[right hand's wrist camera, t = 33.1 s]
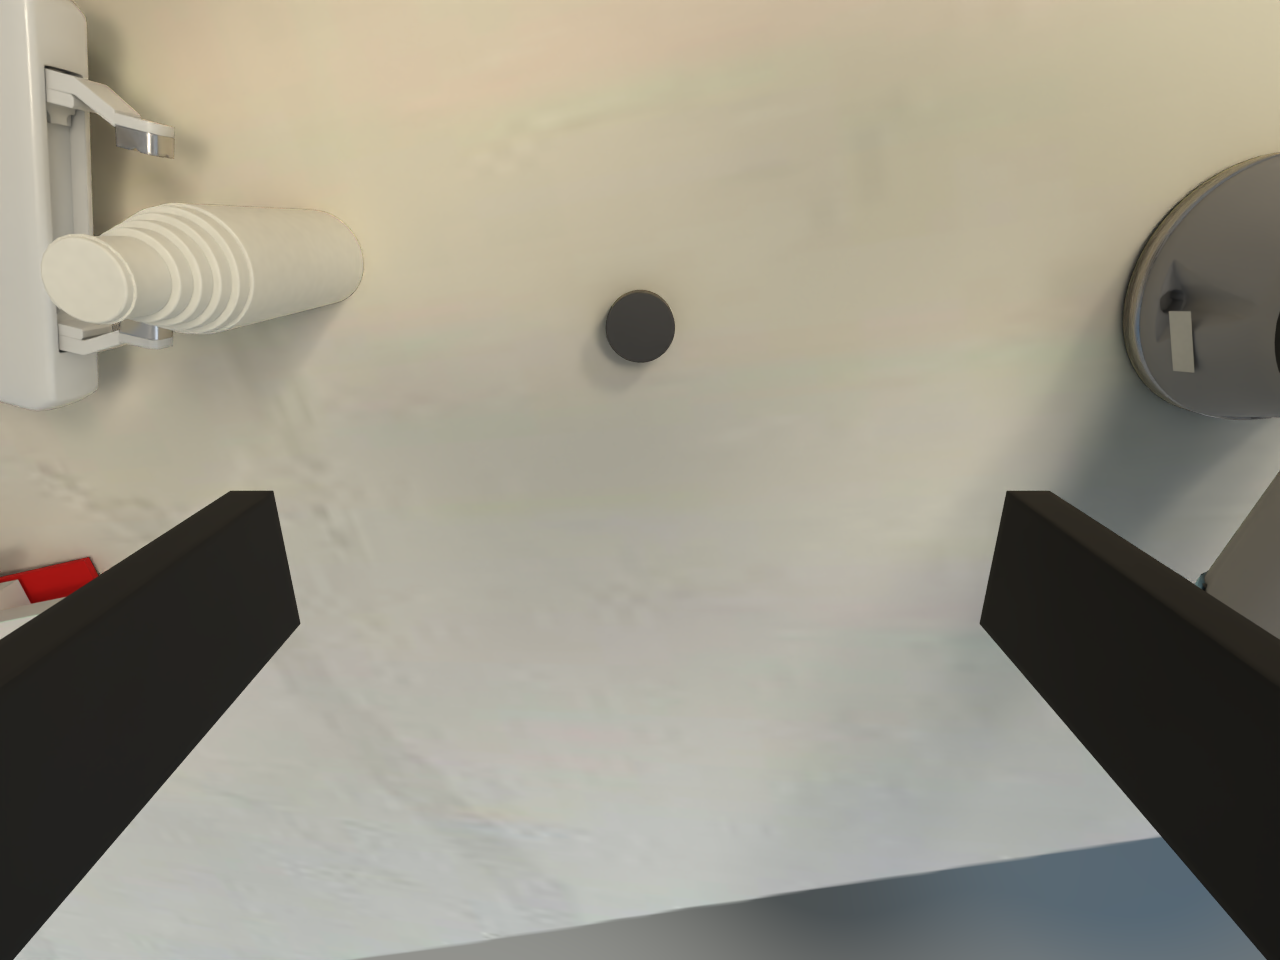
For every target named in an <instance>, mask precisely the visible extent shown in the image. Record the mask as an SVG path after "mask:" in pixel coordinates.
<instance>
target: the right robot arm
mask: <svg viewBox="0 0 1280 960" xmlns="http://www.w3.org/2000/svg"><path fill="white" fill-rule="evenodd" d="M1123 332H1124V340H1125V345H1126V349H1127V352H1128V356H1129V358H1130V361H1131V363H1132V365H1133V367H1134V369H1135V371H1136V373H1137V374H1138V376H1139V377H1140V378H1141V380H1142V381H1143V382H1144V384H1145V385H1146V386H1147V387H1148V388H1149V389H1150V390H1151V391H1152V392H1154V393H1155V394H1156V395H1158V396H1159V397H1160V398H1162V399H1164V400H1165V401H1167V402H1169V403H1171V404H1173V405H1175V406H1178V407H1180V408H1183V409H1186V410H1189V411H1192V412H1195V413H1199V414H1202V415H1205V416H1210V417H1216V418H1224V419H1233V420H1253V419H1263V418H1272V417H1280V153H1273V154H1268V155H1263V156H1259V157H1256V158H1253V159H1250V160H1247V161H1244V162H1242V163H1239V164H1237V165H1234V166H1232V167H1230V168H1228V169H1226V170H1224V171H1222V172H1221V173H1219V174H1217V175H1215V176H1214V177H1212V178H1211V179H1209V180H1207V181H1206V182H1204V183H1203V184H1202V185H1200V186H1199V187H1198V188H1196V189H1195V190H1194V191H1192V192H1191V193H1190V194H1189V195H1188V196H1187V197H1185V198H1184V199H1183V200H1182V201H1181V202H1180V203H1179V204H1178V205H1177V206H1176V207H1175V208H1174V209H1173V210H1172V211H1171V212H1170V213H1169V214H1168V216H1167V217H1166V218H1165V219H1164V220H1163V221H1162V223H1161V224H1160V225H1159V227H1158V228H1157V229H1156V231H1155V232H1154V233H1153V235H1152V236H1151V238H1150V239H1149V241H1148V243H1147V244H1146V246H1145V247H1144V249H1143V251H1142V253H1141V255H1140V257H1139V259H1138V261H1137V263H1136V266H1135V268H1134V270H1133V273H1132V276H1131V279H1130V282H1129V285H1128V289H1127V293H1126V297H1125V304H1124V311H1123ZM299 625H300V619H299V614H298V610H297V605H296V600H295V595H294V590H293V585H292V580H291V575H290V570H289V565H288V561H287V556H286V551H285V546H284V541H283V536H282V531H281V526H280V521H279V517H278V512H277V507H276V502H275V497H274V492H273V491H229V492H228V493H226V494H225V495H223V496H222V497H220V498H219V499H217V500H216V501H214V502H212V503H211V504H209V505H208V506H206V507H205V508H203V509H202V510H200V511H198V512H197V513H195V514H194V515H192V516H191V517H189V518H188V519H186V520H185V521H183V522H181V523H180V524H178V525H177V526H175V527H174V528H172V529H171V530H169V531H168V532H166V533H164V534H163V535H161V536H160V537H158V538H157V539H155V540H154V541H152V542H150V543H149V544H147V545H146V546H144V547H143V548H141V549H140V550H138V551H137V552H135V553H133V554H132V555H130V556H129V557H127V558H126V559H124V560H123V561H121V562H120V563H118V564H116V565H115V566H113V567H112V568H110V569H109V570H107V571H106V572H104V573H102V574H101V575H99V576H98V577H96V578H95V579H93V580H92V581H90V582H89V583H87V584H85V585H84V586H82V587H81V588H79V589H78V590H76V591H75V592H73V593H72V594H70V595H68V596H67V597H65V598H64V599H62V600H61V601H59V602H58V603H56V604H54V605H53V606H51V607H50V608H48V609H47V610H45V611H44V612H42V613H41V614H39V615H37V616H36V617H34V618H33V619H31V620H30V621H28V622H27V623H25V624H24V625H22V626H20V627H19V628H17V629H16V630H14V631H13V632H11V633H10V634H8V635H6V636H5V637H3V638H2V639H0V960H13V959H14V958H15V957H16V956H17V955H18V953H19V952H20V951H21V950H22V949H23V948H24V946H25V945H26V944H27V943H28V942H29V941H30V939H31V938H32V937H33V936H34V935H35V934H36V932H37V931H38V930H39V929H40V928H41V927H42V925H43V924H44V923H45V922H46V921H47V919H48V918H49V917H50V916H51V915H52V914H53V912H54V911H55V910H56V909H57V908H58V907H59V905H60V904H61V903H62V902H63V901H64V900H65V898H66V897H67V896H68V895H69V894H70V893H71V891H72V890H73V889H74V888H75V887H76V886H77V884H78V883H79V882H80V881H81V880H82V879H83V877H84V876H85V875H86V874H87V873H88V872H89V870H90V869H91V868H92V867H93V866H94V865H95V863H96V862H97V861H98V860H99V859H100V857H101V856H102V855H103V854H104V853H105V852H106V850H107V849H108V848H109V847H110V846H111V845H112V843H113V842H114V841H115V840H116V839H117V838H118V836H119V835H120V834H121V833H122V832H123V831H124V829H125V828H126V827H127V826H128V825H129V824H130V822H131V821H132V820H133V819H134V818H135V817H136V815H137V814H138V813H139V812H140V811H141V810H142V808H143V807H144V806H145V805H146V804H147V803H148V801H149V800H150V799H151V798H152V797H153V795H154V794H155V793H156V792H157V791H158V790H159V788H160V787H161V786H162V785H163V784H164V783H165V781H166V780H167V779H168V778H169V777H170V776H171V774H172V773H173V772H174V771H175V770H176V769H177V767H178V766H179V765H180V764H181V763H182V762H183V760H184V759H185V758H186V757H187V756H188V755H189V753H190V752H191V751H192V750H193V749H194V748H195V746H196V745H197V744H198V743H199V742H200V741H201V739H202V738H203V737H204V736H205V735H206V733H207V732H208V731H209V730H210V729H211V728H212V726H213V725H214V724H215V723H216V722H217V721H218V719H219V718H220V717H221V716H222V715H223V714H224V712H225V711H226V710H227V709H228V708H229V707H230V705H231V704H232V703H233V702H234V701H235V700H236V698H237V697H238V696H239V695H240V694H241V693H242V691H243V690H244V689H245V688H246V687H247V686H248V684H249V683H250V682H251V681H252V680H253V679H254V677H255V676H256V675H257V674H258V673H259V671H260V670H261V669H262V668H263V667H264V666H265V664H266V663H267V662H268V661H269V660H270V659H271V657H272V656H273V655H274V654H275V653H276V652H277V650H278V649H279V648H280V647H281V646H282V645H283V643H284V642H285V641H286V640H287V639H288V638H289V636H290V635H291V634H292V633H293V632H294V631H295V629H296V628H297V627H298V626H299ZM980 625H981V626H982V627H983V628H984V629H985V631H986V632H987V633H988V634H989V635H990V636H991V638H992V639H993V640H994V641H995V642H996V643H997V645H998V646H999V647H1000V648H1001V649H1002V650H1003V652H1004V653H1005V654H1006V655H1007V656H1008V657H1009V659H1010V660H1011V661H1012V662H1013V663H1014V664H1015V666H1016V667H1017V668H1018V669H1019V670H1020V671H1021V673H1022V674H1023V675H1024V676H1025V677H1026V679H1027V680H1028V681H1029V682H1030V683H1031V684H1032V686H1033V687H1034V688H1035V689H1036V690H1037V691H1038V693H1039V694H1040V695H1041V696H1042V697H1043V698H1044V700H1045V701H1046V702H1047V703H1048V704H1049V705H1050V707H1051V708H1052V709H1053V710H1054V711H1055V712H1056V714H1057V715H1058V716H1059V717H1060V718H1061V719H1062V721H1063V722H1064V723H1065V724H1066V725H1067V726H1068V728H1069V729H1070V730H1071V731H1072V732H1073V733H1074V735H1075V736H1076V737H1077V738H1078V739H1079V741H1080V742H1081V743H1082V744H1083V745H1084V746H1085V748H1086V749H1087V750H1088V751H1089V752H1090V753H1091V755H1092V756H1093V757H1094V758H1095V759H1096V760H1097V762H1098V763H1099V764H1100V765H1101V766H1102V767H1103V769H1104V770H1105V771H1106V772H1107V773H1108V774H1109V776H1110V777H1111V778H1112V779H1113V780H1114V781H1115V783H1116V784H1117V785H1118V786H1119V787H1120V788H1121V790H1122V791H1123V792H1124V793H1125V794H1126V795H1127V797H1128V798H1129V799H1130V800H1131V801H1132V803H1133V804H1134V805H1135V806H1136V807H1137V808H1138V810H1139V811H1140V812H1141V813H1142V814H1143V815H1144V817H1145V818H1146V819H1147V820H1148V821H1149V822H1150V824H1151V825H1152V826H1153V827H1154V828H1155V829H1156V831H1157V832H1158V833H1159V834H1160V835H1161V836H1162V838H1163V839H1164V840H1165V841H1166V842H1167V843H1168V845H1169V846H1170V847H1171V848H1172V849H1173V850H1174V852H1175V853H1176V854H1177V855H1178V856H1179V857H1180V859H1181V860H1182V861H1183V862H1184V863H1185V865H1186V866H1187V867H1188V868H1189V869H1190V870H1191V872H1192V873H1193V874H1194V875H1195V876H1196V877H1197V879H1198V880H1199V881H1200V882H1201V883H1202V884H1203V886H1204V887H1205V888H1206V889H1207V890H1208V891H1209V893H1210V894H1211V895H1212V896H1213V897H1214V898H1215V900H1216V901H1217V902H1218V903H1219V904H1220V905H1221V907H1222V908H1223V909H1224V910H1225V911H1226V912H1227V914H1228V915H1229V916H1230V917H1231V918H1232V919H1233V921H1234V922H1235V923H1236V924H1237V925H1238V926H1239V928H1240V929H1241V930H1242V931H1243V932H1244V933H1245V935H1246V936H1247V937H1248V938H1249V939H1250V941H1251V942H1252V943H1253V944H1254V945H1255V946H1256V948H1257V949H1258V950H1259V951H1260V952H1261V953H1262V955H1263V956H1264V957H1265V958H1266V959H1267V960H1280V471H1279V473H1278V474H1277V475H1276V477H1275V478H1274V480H1273V481H1272V482H1271V484H1270V485H1269V487H1268V488H1267V489H1266V491H1265V492H1264V494H1263V495H1262V496H1261V498H1260V499H1259V501H1258V502H1257V503H1256V505H1255V506H1254V508H1253V509H1252V510H1251V512H1250V513H1249V515H1248V516H1247V517H1246V519H1245V520H1244V522H1243V523H1242V524H1241V526H1240V527H1239V529H1238V530H1237V531H1236V533H1235V534H1234V536H1233V537H1232V538H1231V540H1230V541H1229V543H1228V544H1227V545H1226V547H1225V548H1224V550H1223V551H1222V552H1221V554H1220V555H1219V556H1218V558H1217V559H1216V561H1215V562H1214V563H1213V565H1212V566H1211V568H1210V569H1209V570H1208V571H1207V572H1205V573H1203V574H1201V575H1200V577H1199V578H1198V580H1197V581H1196V584H1193V583H1191V582H1190V581H1188V580H1187V579H1185V578H1184V577H1182V576H1181V575H1179V574H1178V573H1176V572H1174V571H1173V570H1171V569H1170V568H1168V567H1167V566H1165V565H1164V564H1162V563H1160V562H1159V561H1157V560H1156V559H1154V558H1153V557H1151V556H1150V555H1148V554H1147V553H1145V552H1143V551H1142V550H1140V549H1139V548H1137V547H1136V546H1134V545H1133V544H1131V543H1130V542H1128V541H1126V540H1125V539H1123V538H1122V537H1120V536H1119V535H1117V534H1116V533H1114V532H1112V531H1111V530H1109V529H1108V528H1106V527H1105V526H1103V525H1102V524H1100V523H1099V522H1097V521H1095V520H1094V519H1092V518H1091V517H1089V516H1088V515H1086V514H1085V513H1083V512H1082V511H1080V510H1078V509H1077V508H1075V507H1074V506H1072V505H1071V504H1069V503H1068V502H1066V501H1064V500H1063V499H1061V498H1060V497H1058V496H1057V495H1055V494H1054V493H1052V492H1051V491H1007V492H1006V497H1005V502H1004V507H1003V512H1002V517H1001V521H1000V526H999V531H998V536H997V541H996V546H995V551H994V556H993V561H992V565H991V570H990V575H989V580H988V585H987V590H986V595H985V600H984V605H983V610H982V614H981V619H980Z"/></svg>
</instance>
